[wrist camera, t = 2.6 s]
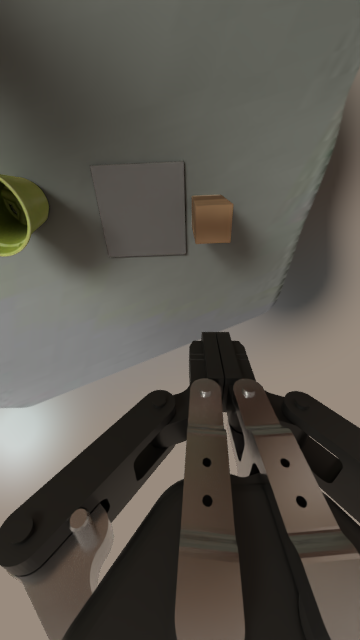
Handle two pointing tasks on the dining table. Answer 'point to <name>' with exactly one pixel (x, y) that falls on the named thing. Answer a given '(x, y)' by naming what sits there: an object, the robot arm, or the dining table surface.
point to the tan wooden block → (211, 219)
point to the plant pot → (19, 213)
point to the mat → (141, 208)
